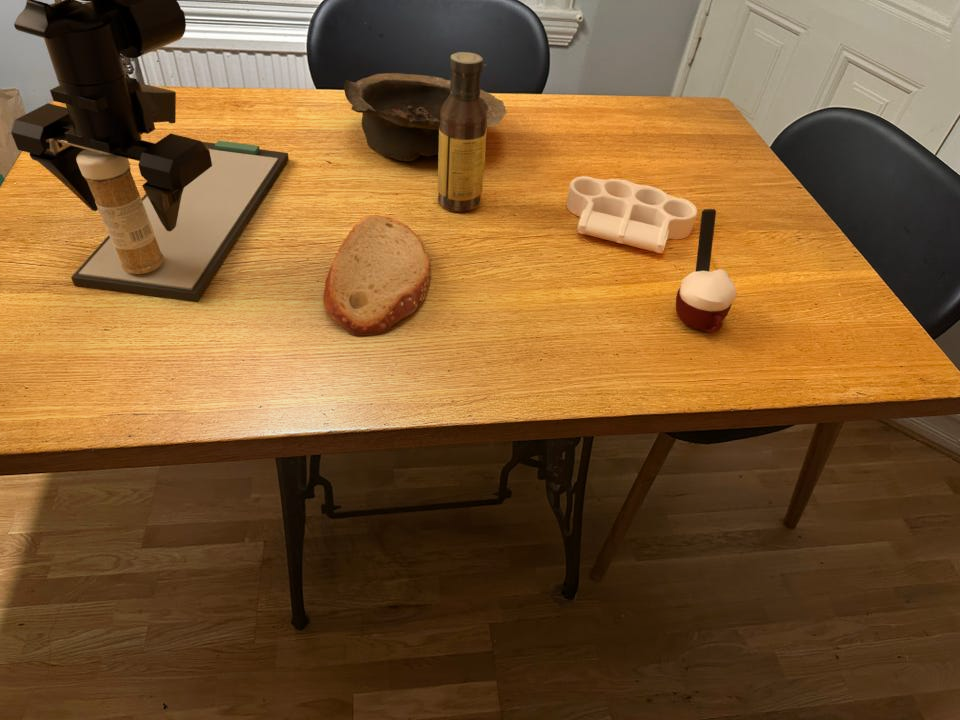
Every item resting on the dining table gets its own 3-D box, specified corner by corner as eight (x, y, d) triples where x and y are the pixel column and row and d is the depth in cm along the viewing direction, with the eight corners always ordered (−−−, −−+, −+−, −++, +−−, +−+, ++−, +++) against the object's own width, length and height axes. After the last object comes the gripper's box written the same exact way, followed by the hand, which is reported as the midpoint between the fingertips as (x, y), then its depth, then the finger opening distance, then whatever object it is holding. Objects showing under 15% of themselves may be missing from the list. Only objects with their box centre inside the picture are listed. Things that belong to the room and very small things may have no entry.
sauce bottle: (489, 202, 99) (505, 59, 85) (462, 219, 95) (475, 71, 81) (453, 186, 101) (464, 44, 87) (426, 202, 97) (432, 55, 84)
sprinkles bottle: (156, 249, 81) (115, 138, 72) (171, 266, 78) (130, 153, 69) (116, 263, 79) (68, 150, 70) (129, 281, 76) (82, 166, 67)
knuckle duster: (552, 233, 94) (574, 184, 105) (684, 266, 91) (694, 213, 102) (556, 211, 92) (578, 164, 102) (692, 245, 89) (701, 192, 99)
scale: (198, 302, 77) (194, 287, 76) (73, 285, 77) (68, 271, 76) (289, 160, 102) (287, 147, 101) (194, 148, 102) (192, 135, 101)
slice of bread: (385, 220, 93) (384, 195, 90) (478, 285, 84) (481, 259, 82) (266, 268, 83) (262, 241, 80) (358, 347, 74) (357, 321, 72)
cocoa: (722, 349, 80) (761, 262, 71) (668, 337, 80) (699, 250, 72) (721, 300, 86) (756, 216, 78) (670, 289, 87) (700, 205, 79)
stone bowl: (345, 177, 99) (341, 112, 93) (347, 115, 118) (344, 57, 113) (515, 178, 103) (522, 116, 97) (491, 117, 122) (495, 62, 116)
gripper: (229, 64, 68) (251, 203, 79) (67, 27, 71) (109, 166, 82) (158, 107, 60) (193, 255, 71) (-21, 64, 63) (38, 212, 74)
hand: (133, 219), depth 75 cm, fingers open, 9 cm apart
